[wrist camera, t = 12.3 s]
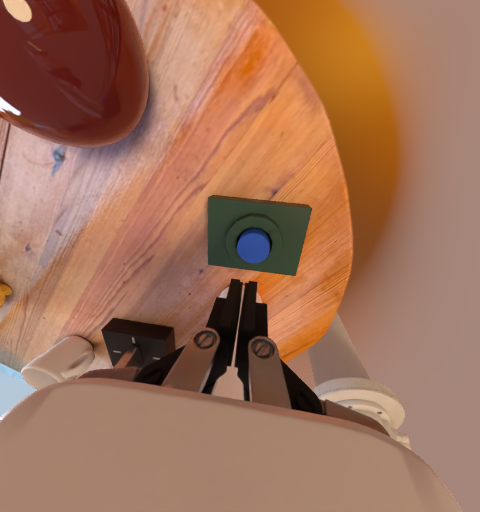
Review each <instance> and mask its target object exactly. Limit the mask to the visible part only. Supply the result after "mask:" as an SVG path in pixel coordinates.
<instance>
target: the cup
mask: <svg viewBox="0 0 480 512" xmlns="http://www.w3.org/2000/svg"><path fill="white" fill-rule="evenodd" d="M94 358H95V354H94V352H93V347H92V345H91V344H90V343H89V342H88V341H87V340H85V339H84V338H81V337H78V336H69V337H67V338H65V339H63V340H61V341H60V342H58V343H57V344H56V345H54V346H53V347H51V348H50V349H49V350H47V351H46V352H44V353H43V354H42V355H40V356H39V357H37V358H36V359H35V360H33V361H32V362H30V363H29V364H28V365H26V366H25V367H24V368H23V369H22V371H21V375H22V377H23V379H24V380H25V381H26V382H27V383H28V384H29V385H30V386H32V387H33V388H35V389H37V390H39V389H41V388H44V387H46V386H49V385H52V384H55V383H59V382H63V381H68V380H73V379H75V378H76V376H77V375H78V374H80V373H81V372H83V371H84V370H85V369H86V368H87V367H88V366H89V365H90V364H91V363H92V361H93V360H94Z"/></svg>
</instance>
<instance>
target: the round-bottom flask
mask: <svg viewBox="0 0 480 512" xmlns="http://www.w3.org/2000/svg"><path fill="white" fill-rule="evenodd" d="M148 91H149V75H148V66H147V60H146V55H145V50H144V46H143V43H142V39H141V36H140V33H139V31H138V28H137V25H136V23H135V20H134V18H133V15H132V13H131V11H130V9H129V7H128V5H127V3H126V1H125V0H0V117H1V118H2V119H4V120H6V121H7V122H9V123H11V124H12V125H14V126H16V127H18V128H20V129H22V130H24V131H26V132H28V133H30V134H32V135H35V136H37V137H40V138H42V139H45V140H48V141H51V142H54V143H58V144H62V145H66V146H72V147H81V148H95V147H102V146H107V145H110V144H113V143H116V142H118V141H120V140H121V139H123V138H125V137H126V136H127V135H129V134H130V133H131V132H132V131H133V130H134V129H135V127H136V126H137V125H138V123H139V121H140V120H141V118H142V116H143V113H144V111H145V108H146V104H147V99H148Z"/></svg>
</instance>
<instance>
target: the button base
mask: <svg viewBox="0 0 480 512" xmlns="http://www.w3.org/2000/svg"><path fill="white" fill-rule="evenodd" d="M311 211H312V208H311V207H310V206H309V205H305V204H295V203H286V202H276V201H267V200H257V199H247V198H238V197H228V196H218V195H212V196H210V197H209V198H208V265H216V266H224V267H231V268H239V269H246V270H254V271H261V272H269V273H276V274H284V275H292V276H296V272H297V268H298V264H299V260H300V256H301V252H302V248H303V244H304V240H305V235H306V231H307V227H308V223H309V219H310V215H311ZM249 229H259V230H261V231H263V232H264V233H265V234H266V235H267V236H268V238H269V243H270V251H269V254H268V256H267V258H266V259H265V260H263V261H262V262H259V263H248V262H246V261H244V260H243V259H242V258H241V257H240V256H239V254H238V251H237V245H238V242H239V239H240V237H241V235H242V234H243V233H244V232H245V231H247V230H249Z"/></svg>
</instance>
